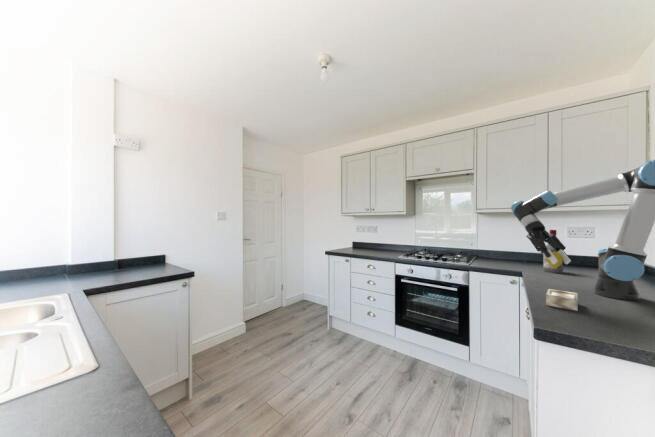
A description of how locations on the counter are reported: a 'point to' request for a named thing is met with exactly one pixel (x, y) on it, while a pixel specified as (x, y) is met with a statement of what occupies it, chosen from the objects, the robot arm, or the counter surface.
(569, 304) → the display riser
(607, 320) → the counter surface
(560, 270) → the liquor
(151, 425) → the counter surface
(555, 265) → the lemon
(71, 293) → the counter surface
